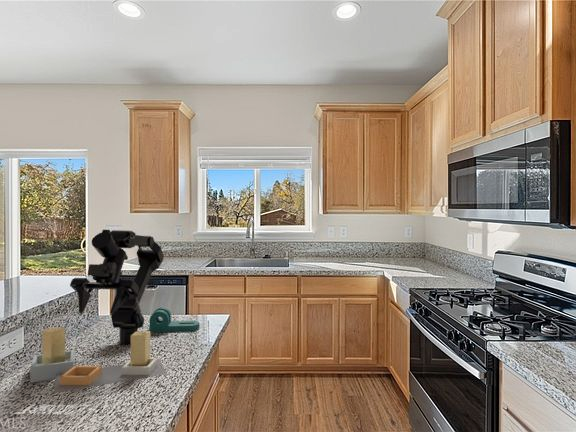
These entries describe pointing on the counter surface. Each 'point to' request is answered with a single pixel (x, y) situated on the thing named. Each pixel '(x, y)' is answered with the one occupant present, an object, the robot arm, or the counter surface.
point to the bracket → (169, 322)
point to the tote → (50, 367)
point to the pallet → (105, 375)
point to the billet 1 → (53, 345)
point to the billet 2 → (140, 348)
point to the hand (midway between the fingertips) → (95, 313)
